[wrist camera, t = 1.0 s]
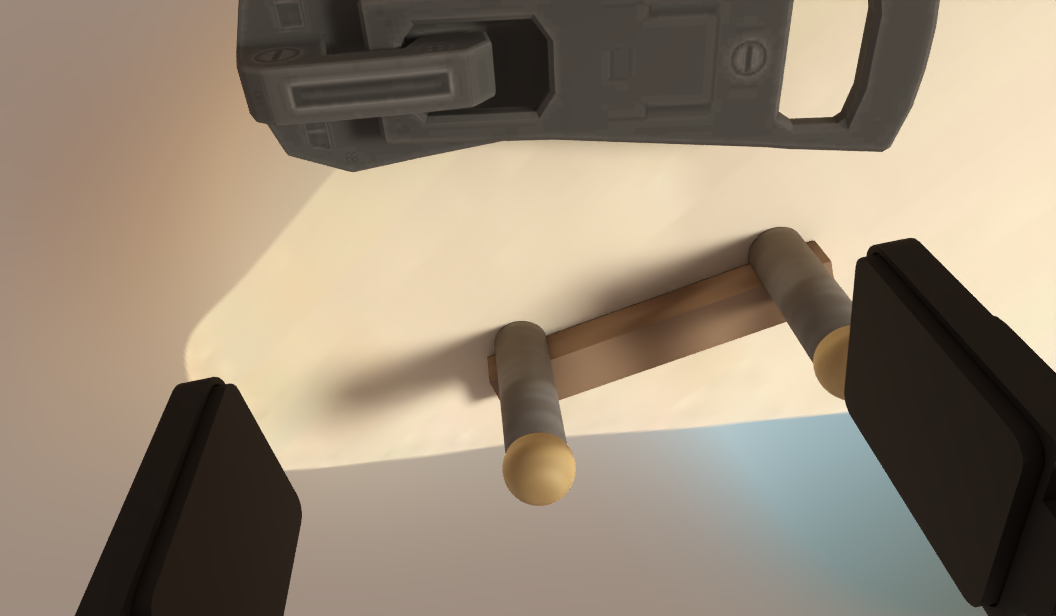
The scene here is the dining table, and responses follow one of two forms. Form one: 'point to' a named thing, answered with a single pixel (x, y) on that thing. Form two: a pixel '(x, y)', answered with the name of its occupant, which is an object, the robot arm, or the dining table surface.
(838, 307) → the peg stop rail
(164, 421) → the robot arm
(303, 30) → the zipper pull
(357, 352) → the dining table surface
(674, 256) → the dining table surface
